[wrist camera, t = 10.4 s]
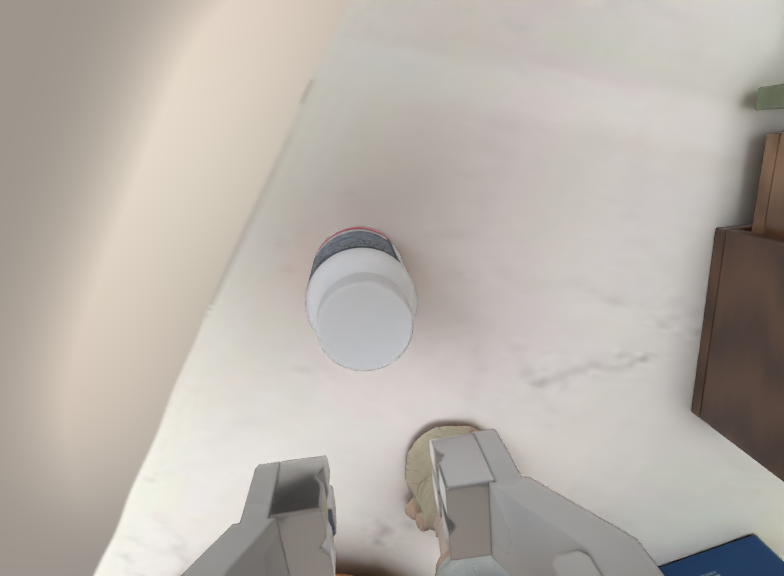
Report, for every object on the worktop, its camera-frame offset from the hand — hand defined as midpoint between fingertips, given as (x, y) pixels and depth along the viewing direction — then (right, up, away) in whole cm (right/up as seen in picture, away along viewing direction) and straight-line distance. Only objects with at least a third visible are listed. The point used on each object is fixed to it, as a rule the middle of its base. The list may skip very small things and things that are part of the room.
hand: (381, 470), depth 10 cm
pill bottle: (-2, +5, +16) cm, 17 cm away
